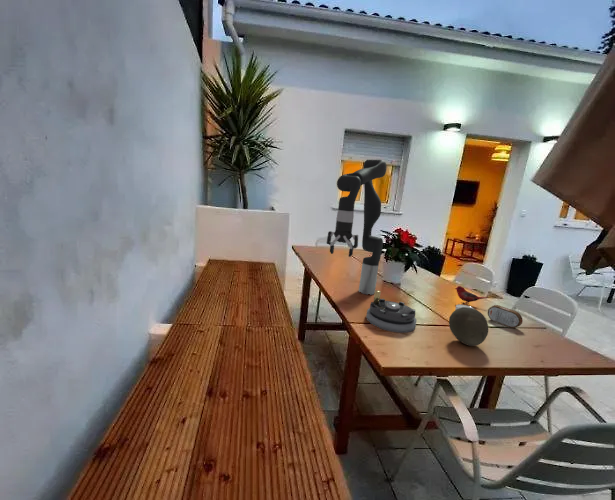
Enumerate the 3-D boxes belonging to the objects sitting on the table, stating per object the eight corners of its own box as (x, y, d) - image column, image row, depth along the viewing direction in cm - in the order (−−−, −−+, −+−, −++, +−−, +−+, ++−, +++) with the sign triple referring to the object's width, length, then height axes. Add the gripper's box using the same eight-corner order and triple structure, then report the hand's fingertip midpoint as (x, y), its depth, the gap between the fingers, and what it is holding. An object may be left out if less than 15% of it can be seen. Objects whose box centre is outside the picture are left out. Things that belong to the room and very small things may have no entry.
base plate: (381, 308, 156) (382, 303, 156) (423, 324, 142) (424, 318, 141) (357, 318, 140) (357, 312, 140) (401, 337, 126) (402, 330, 125)
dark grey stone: (477, 339, 132) (484, 306, 129) (488, 355, 118) (497, 319, 116) (442, 332, 135) (449, 300, 132) (449, 347, 121) (457, 312, 118)
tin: (520, 329, 148) (524, 313, 146) (518, 331, 146) (522, 314, 144) (487, 317, 159) (491, 302, 158) (485, 318, 158) (488, 303, 156)
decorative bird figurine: (451, 300, 182) (455, 284, 180) (485, 307, 176) (489, 290, 174) (452, 302, 179) (455, 285, 177) (486, 308, 173) (490, 292, 171)
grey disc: (421, 317, 141) (424, 299, 140) (401, 328, 127) (405, 308, 125) (382, 303, 154) (385, 286, 153) (361, 312, 140) (363, 294, 138)
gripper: (361, 221, 141) (357, 256, 144) (332, 218, 146) (328, 251, 149) (358, 223, 134) (354, 259, 137) (327, 219, 139) (323, 254, 142)
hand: (340, 255), depth 143 cm, fingers open, 8 cm apart
